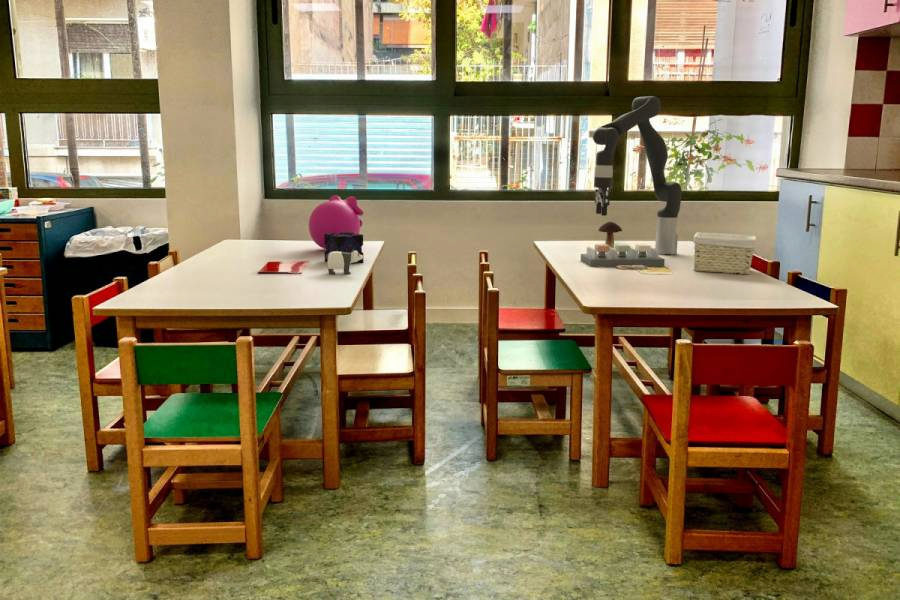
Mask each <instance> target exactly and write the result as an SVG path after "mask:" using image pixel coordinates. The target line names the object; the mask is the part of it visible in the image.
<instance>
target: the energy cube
mask: <svg viewBox="0 0 900 600" xmlns="http://www.w3.org/2000/svg"><path fill="white" fill-rule="evenodd" d="M324 244H325V245H326V249H325V251H324V262H326V263H328V259H326V255H327V254H329V253H330V252H335V251H338V252H347V253H351V252H352V250H354V251H357V252H358V253H359V254H360V255H362V256H364V252H363V251H362V250H363V249H362V248H363V246H364V234H361V233H359V234H354V233H352V232H340V234H335V233H326V234H324ZM352 264H364V257H363V258H362V259H361V260H359V261H357V262H353V263H352Z"/></svg>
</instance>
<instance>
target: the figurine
mask: <svg viewBox="0 0 900 600" xmlns="http://www.w3.org/2000/svg"><path fill="white" fill-rule="evenodd" d="M363 215H364V211H363V210H362V208H360V206H358V201H357V198H356V196H348V197H346V198H345V199H342V198H341V197H340V196H339V195H336V194H335V195H332V196H331V197H330V198H329V200H328V201H325V202H323V203H320V204H319V205H317V206H316V207H315V208H314V209H313V210H312V212H311V213H310V217H309V220H308V232H309V235H310V237H311V239H312V241H313V242H314V243H315V244H316V245H317V246H318V247H319V248H322V249H324V250H326V245H325V244H324V234H326V233H335V234H340V232H352V233H354V234H360V232H361V227H362V226H363V221H362V220H361V219H360V218H359V216H363Z"/></svg>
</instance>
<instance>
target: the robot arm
mask: <svg viewBox="0 0 900 600" xmlns="http://www.w3.org/2000/svg"><path fill="white" fill-rule="evenodd" d="M661 104H662V103H661V101H660V99H659V98H658V97H657V96H653V95H649V96H639V97H635V98H634V99H633V101H632V104H631V110H632V111H629V112H627V113H624V114H622V115H620V116H618V117H617V118H616V119H614V120H613V121H611V122H608V123H606V124H603V125H601V126H599V127H598V128H596V129H595V131H594V132H593V135H592V139H593V142H594V143H595V144H596V145H598V146H604V148H603V150H599V151H597V152H596V155H595V166H594V167H595V168H594V177H593V187H594V188H595V195H594V203H595V214H596V215H601V216H607V215H608V207H609V206H610V202H611V201H610V200H611V199H610V198H611V192H610V190H608V189H611V188H612V187H613V174H614V173H613V172H614V169H613V167H614V165H613V163H614V154H615V151H616V148H617V145H618V142H619V137H621V136H623V135H625V134H626V133H627V132H629V130H632V129H633V128H634V127H636V126H637V127H638V131H639V133H640V136H641V139H642V143H643V146H644V152H645V155H646V159H647V161H648V165H649V169H650V174H651V178H652V185H653V190H654V195H655V198H656V199H657V201H659V202H664V203H665V206H664V207H663V208H662V209H659V210H658V211H657V217H656V229H655V231H656V232H655V243H654V245H655V246H654V247H655V248H654V249H657V250H659V255H665V254H671V255H677V254H678V253H677V252H678V244H679V241H678V239H679V233H677V230H678V217H679V212H680V210H681V209H680V208H681V203H682V202H681V201H682V193H683V192H682V191H683V190H682V186H681V184H680V183H678V182H674V181H667V179H666V176H665V167H666V165H667V162H668V158H669V153H668V150H667V145H666V142H665V140H664V138H663V137H662V136H661V134H660V133H659V132H658V131H657V130H656V129H655V128H654V127H653V126H652V124H651V122H650V119H652V118H655V117H657V116H658V115H659V113H660V111H661V108H662V107H661V106H662V105H661Z"/></svg>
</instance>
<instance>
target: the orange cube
mask: <svg viewBox="0 0 900 600" xmlns="http://www.w3.org/2000/svg"><path fill="white" fill-rule="evenodd" d="M594 249H595V250H597V254H598V256H605V254H606V252H609V250H610V246H609V245H607V244H605V243H603V244H602V243H596V244H594Z"/></svg>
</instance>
